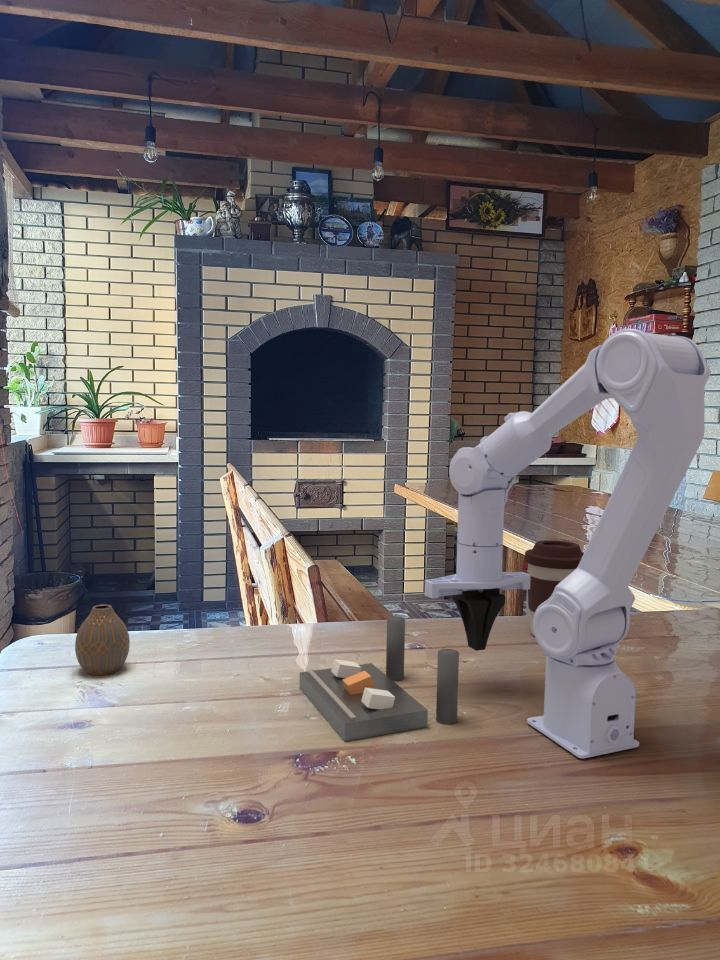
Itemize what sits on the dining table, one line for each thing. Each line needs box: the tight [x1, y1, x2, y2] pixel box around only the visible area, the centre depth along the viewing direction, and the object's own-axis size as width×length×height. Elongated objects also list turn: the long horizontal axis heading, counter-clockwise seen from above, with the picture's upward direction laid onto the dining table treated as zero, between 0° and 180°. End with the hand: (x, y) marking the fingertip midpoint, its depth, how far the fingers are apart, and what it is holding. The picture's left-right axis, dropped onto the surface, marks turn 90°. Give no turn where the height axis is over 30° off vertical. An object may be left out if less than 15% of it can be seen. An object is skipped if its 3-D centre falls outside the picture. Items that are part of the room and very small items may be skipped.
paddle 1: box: [331, 658, 361, 678], centre depth 89 cm, size 2×3×2 cm, turn 112°
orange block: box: [342, 671, 374, 695], centre depth 84 cm, size 2×3×2 cm, turn 112°
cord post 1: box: [385, 616, 406, 682], centre depth 94 cm, size 2×2×8 cm
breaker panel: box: [299, 662, 429, 742], centre depth 85 cm, size 16×10×2 cm, turn 22°
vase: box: [74, 604, 131, 676], centre depth 95 cm, size 7×7×9 cm
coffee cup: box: [524, 539, 584, 637], centre depth 113 cm, size 10×10×15 cm
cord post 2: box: [435, 648, 460, 725], centre depth 81 cm, size 2×2×8 cm
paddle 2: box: [361, 688, 395, 709], centre depth 80 cm, size 2×3×2 cm, turn 112°
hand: (476, 647), depth 90 cm, fingers closed
